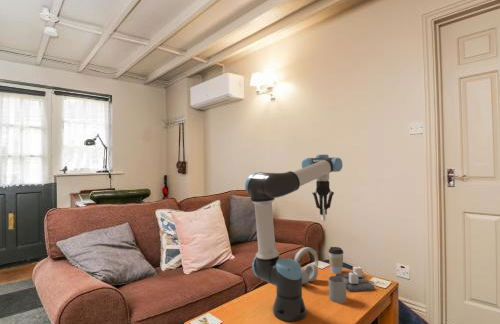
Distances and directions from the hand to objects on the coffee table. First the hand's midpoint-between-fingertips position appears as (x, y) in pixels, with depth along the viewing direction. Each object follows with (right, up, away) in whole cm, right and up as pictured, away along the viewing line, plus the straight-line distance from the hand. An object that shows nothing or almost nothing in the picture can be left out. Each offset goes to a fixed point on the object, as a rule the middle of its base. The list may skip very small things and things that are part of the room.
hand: (323, 220), depth 172 cm
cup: (0, -35, -26) cm, 43 cm away
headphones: (-11, -35, -6) cm, 37 cm away
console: (+15, -34, -9) cm, 38 cm away
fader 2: (+13, -32, -13) cm, 37 cm away
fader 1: (+19, -32, -4) cm, 37 cm away
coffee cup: (+10, -34, +9) cm, 37 cm away
